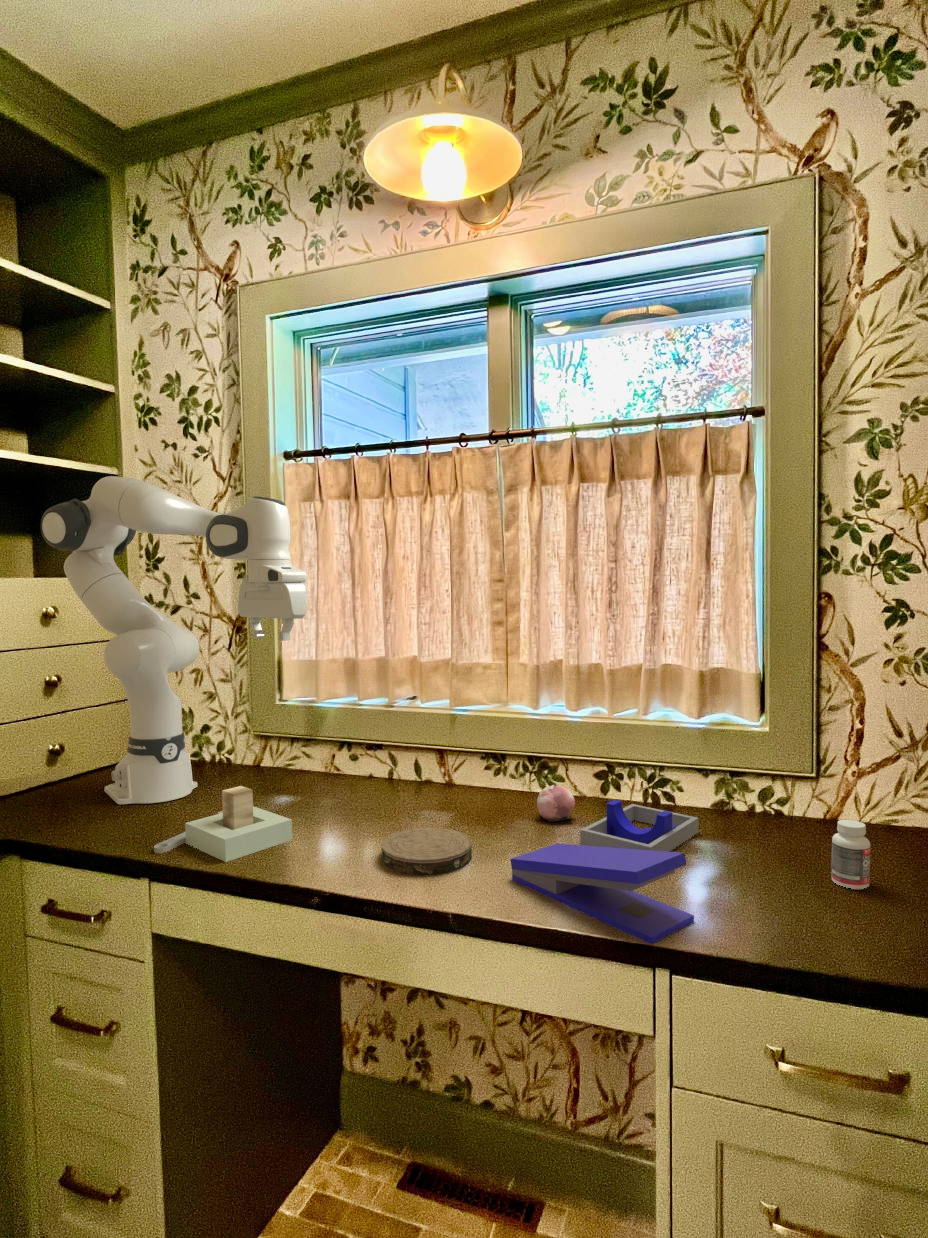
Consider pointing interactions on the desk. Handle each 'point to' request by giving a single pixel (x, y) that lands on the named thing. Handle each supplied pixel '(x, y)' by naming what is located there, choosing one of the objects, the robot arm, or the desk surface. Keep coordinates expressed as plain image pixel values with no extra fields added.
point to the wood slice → (426, 851)
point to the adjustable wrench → (172, 842)
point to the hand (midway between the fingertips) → (271, 639)
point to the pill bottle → (851, 855)
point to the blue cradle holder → (625, 829)
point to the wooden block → (237, 807)
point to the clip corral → (667, 842)
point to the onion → (555, 803)
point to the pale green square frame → (238, 835)
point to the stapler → (606, 885)
